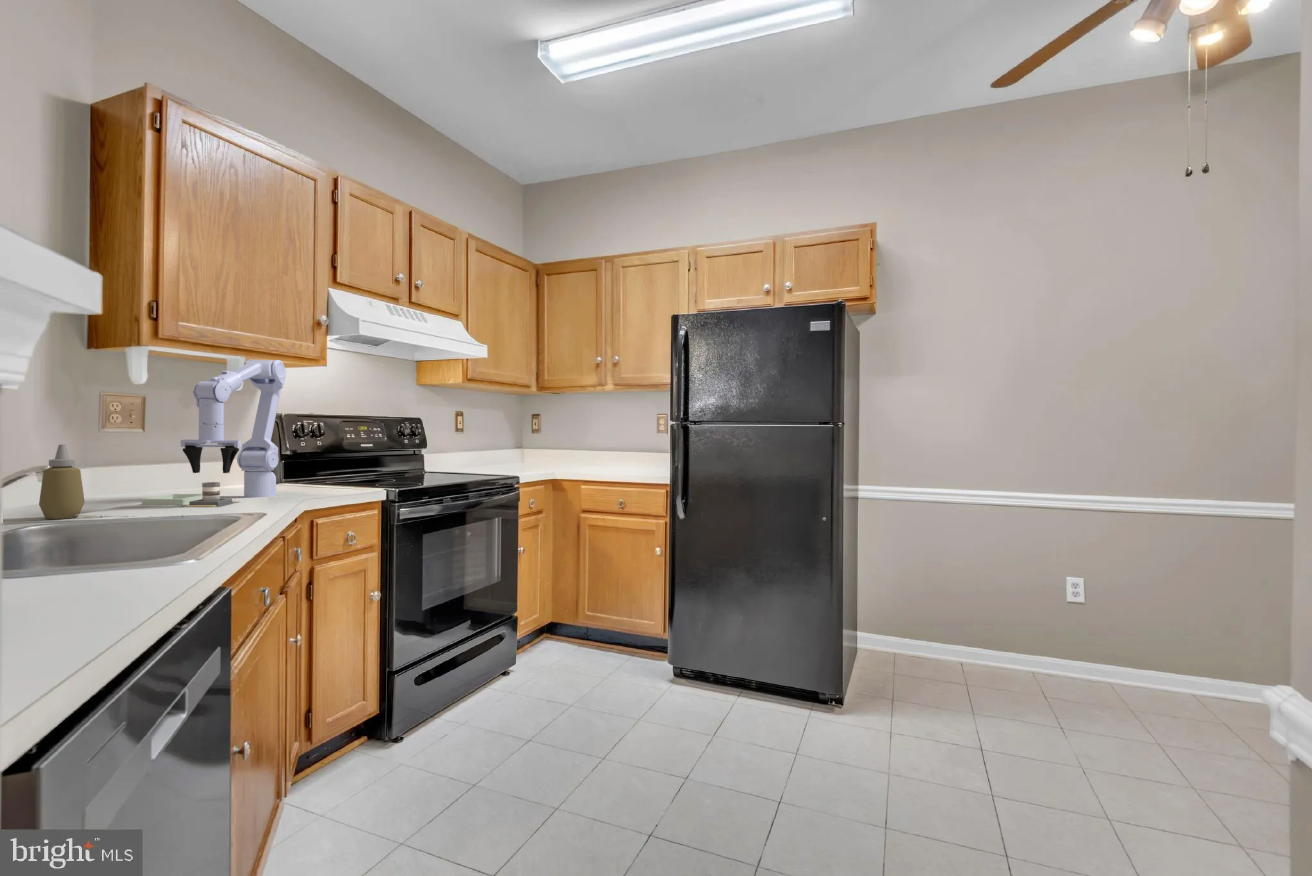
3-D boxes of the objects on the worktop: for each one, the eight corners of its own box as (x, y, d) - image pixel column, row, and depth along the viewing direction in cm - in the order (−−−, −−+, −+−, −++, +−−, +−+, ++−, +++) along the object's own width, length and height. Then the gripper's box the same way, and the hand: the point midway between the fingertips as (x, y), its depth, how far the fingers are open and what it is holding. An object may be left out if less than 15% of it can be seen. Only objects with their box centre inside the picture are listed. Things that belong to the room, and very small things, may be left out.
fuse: (207, 503, 174) (207, 482, 174) (223, 503, 174) (223, 482, 174) (198, 505, 170) (198, 483, 170) (215, 505, 170) (215, 483, 170)
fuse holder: (203, 505, 177) (203, 497, 177) (241, 505, 179) (241, 497, 179) (178, 510, 165) (178, 502, 165) (218, 510, 167) (218, 502, 167)
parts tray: (171, 502, 182) (171, 493, 182) (209, 502, 184) (209, 493, 183) (141, 508, 169) (141, 499, 169) (182, 508, 170) (182, 499, 170)
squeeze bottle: (32, 521, 145) (31, 445, 145) (48, 516, 153) (47, 444, 152) (76, 519, 149) (76, 445, 148) (90, 514, 156) (90, 444, 156)
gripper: (173, 423, 166) (173, 473, 167) (232, 424, 169) (232, 474, 169) (189, 423, 173) (189, 471, 174) (245, 424, 176) (245, 472, 176)
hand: (211, 472), depth 172 cm, fingers open, 7 cm apart
